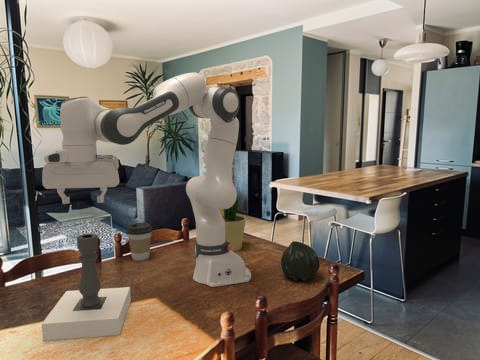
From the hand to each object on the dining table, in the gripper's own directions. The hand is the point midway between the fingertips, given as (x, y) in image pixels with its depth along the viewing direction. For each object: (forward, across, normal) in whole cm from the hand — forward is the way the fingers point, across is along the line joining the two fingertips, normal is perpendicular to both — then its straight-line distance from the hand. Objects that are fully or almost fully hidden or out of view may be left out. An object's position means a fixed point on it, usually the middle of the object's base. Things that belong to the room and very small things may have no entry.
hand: (83, 202), depth 103 cm
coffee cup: (+36, -8, -51) cm, 63 cm away
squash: (+36, -72, -21) cm, 83 cm away
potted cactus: (+36, -49, -59) cm, 85 cm away
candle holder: (+35, 0, 0) cm, 35 cm away
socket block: (+36, 0, 0) cm, 36 cm away
